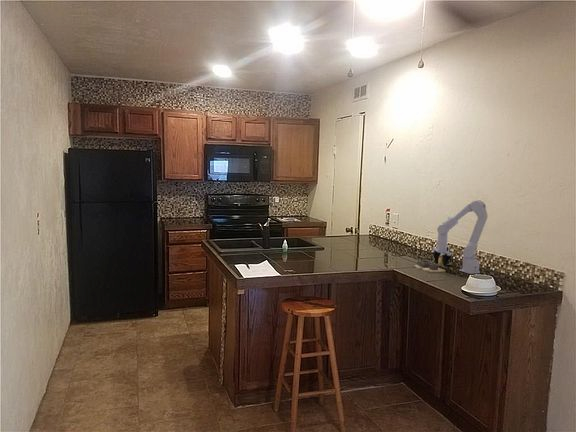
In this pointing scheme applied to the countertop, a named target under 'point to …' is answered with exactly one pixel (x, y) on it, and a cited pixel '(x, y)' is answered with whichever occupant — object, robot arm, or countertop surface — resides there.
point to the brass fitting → (440, 262)
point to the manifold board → (428, 266)
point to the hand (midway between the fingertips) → (440, 264)
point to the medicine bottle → (450, 257)
